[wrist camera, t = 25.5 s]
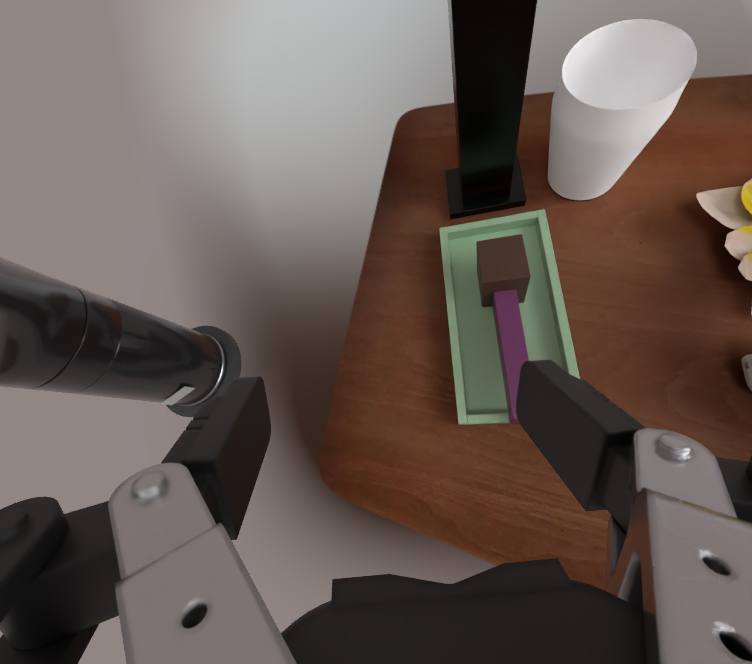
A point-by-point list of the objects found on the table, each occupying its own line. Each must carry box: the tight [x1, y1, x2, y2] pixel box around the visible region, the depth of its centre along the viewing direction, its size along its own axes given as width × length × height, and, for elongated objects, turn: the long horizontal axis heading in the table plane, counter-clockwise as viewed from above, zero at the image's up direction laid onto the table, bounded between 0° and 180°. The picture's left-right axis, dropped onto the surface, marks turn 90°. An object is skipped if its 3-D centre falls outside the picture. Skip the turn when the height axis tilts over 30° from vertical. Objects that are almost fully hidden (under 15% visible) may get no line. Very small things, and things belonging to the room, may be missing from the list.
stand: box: [445, 0, 537, 219], centre depth 24 cm, size 9×10×32 cm
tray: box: [439, 209, 580, 425], centre depth 34 cm, size 11×21×2 cm, turn 2°
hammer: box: [476, 234, 531, 424], centre depth 31 cm, size 4×16×5 cm, turn 2°
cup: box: [548, 19, 697, 200], centre depth 31 cm, size 9×9×12 cm
